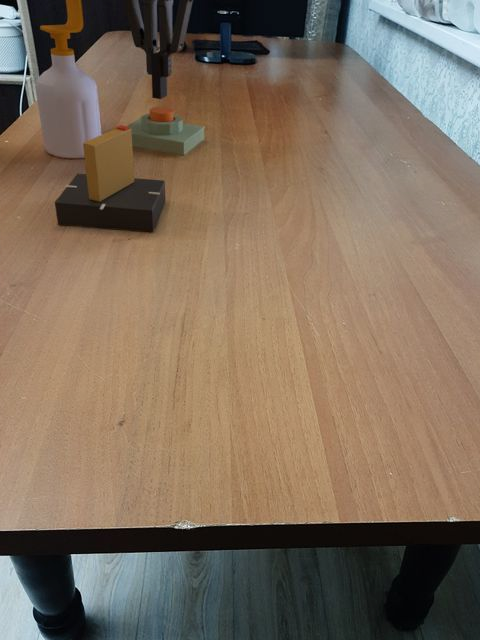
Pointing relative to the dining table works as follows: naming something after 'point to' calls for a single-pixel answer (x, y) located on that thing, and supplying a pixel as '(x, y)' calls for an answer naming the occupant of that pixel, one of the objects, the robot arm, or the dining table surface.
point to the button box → (165, 135)
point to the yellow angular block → (109, 163)
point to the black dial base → (112, 206)
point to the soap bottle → (67, 94)
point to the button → (161, 114)
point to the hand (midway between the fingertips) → (159, 96)
